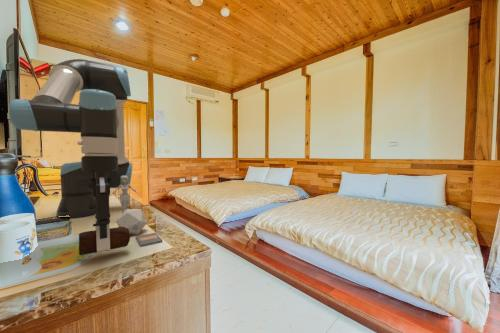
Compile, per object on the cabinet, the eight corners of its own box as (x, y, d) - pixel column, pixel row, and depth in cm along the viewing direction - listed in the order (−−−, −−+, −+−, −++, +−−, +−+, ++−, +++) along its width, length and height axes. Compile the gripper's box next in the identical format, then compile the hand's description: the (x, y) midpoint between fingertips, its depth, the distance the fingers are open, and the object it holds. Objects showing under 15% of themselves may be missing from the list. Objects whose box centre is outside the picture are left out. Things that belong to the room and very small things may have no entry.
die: (125, 241, 68) (146, 215, 71) (105, 226, 69) (125, 200, 72) (138, 241, 76) (156, 217, 78) (119, 227, 77) (137, 204, 80)
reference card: (135, 238, 69) (135, 236, 69) (155, 234, 73) (155, 232, 73) (140, 246, 63) (140, 244, 63) (162, 242, 66) (162, 239, 66)
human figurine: (107, 224, 83) (106, 176, 82) (107, 221, 86) (106, 175, 85) (142, 219, 89) (141, 175, 88) (141, 217, 92) (140, 174, 92)
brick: (78, 257, 52) (78, 237, 51) (79, 250, 55) (78, 232, 54) (130, 246, 58) (130, 229, 58) (127, 241, 61) (127, 224, 61)
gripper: (81, 154, 59) (84, 239, 61) (80, 155, 45) (84, 265, 47) (114, 154, 64) (116, 233, 65) (121, 155, 50) (124, 255, 51)
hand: (103, 246), depth 56 cm, fingers closed on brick, 4 cm apart
